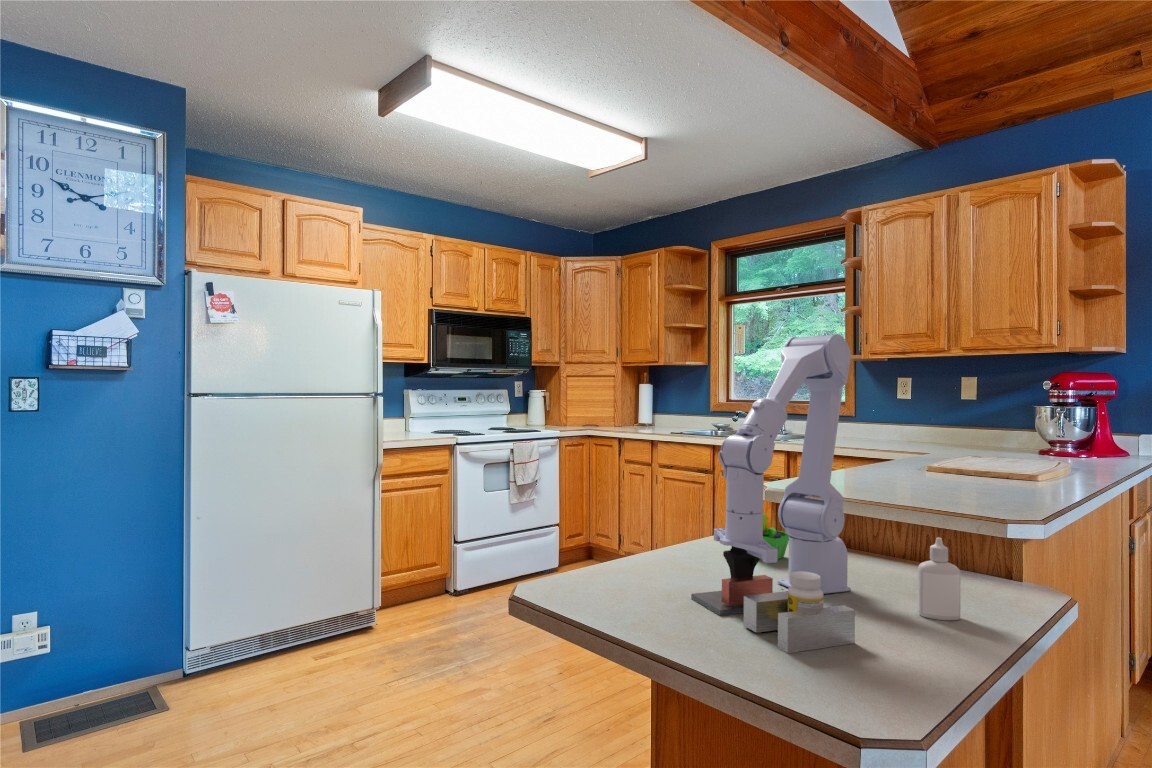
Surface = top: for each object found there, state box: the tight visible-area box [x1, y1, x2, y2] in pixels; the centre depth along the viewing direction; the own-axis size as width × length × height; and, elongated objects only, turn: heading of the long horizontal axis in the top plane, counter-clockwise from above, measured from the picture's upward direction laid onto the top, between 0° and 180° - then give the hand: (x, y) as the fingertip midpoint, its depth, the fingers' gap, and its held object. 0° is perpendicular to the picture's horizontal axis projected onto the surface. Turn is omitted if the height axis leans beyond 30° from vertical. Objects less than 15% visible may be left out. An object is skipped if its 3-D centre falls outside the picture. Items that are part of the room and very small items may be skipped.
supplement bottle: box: [787, 571, 824, 612], centre depth 90 cm, size 5×5×8 cm
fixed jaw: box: [777, 604, 856, 654], centre depth 86 cm, size 11×2×4 cm, turn 110°
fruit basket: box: [762, 511, 789, 561], centre depth 135 cm, size 11×9×11 cm
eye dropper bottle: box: [917, 536, 961, 621], centre depth 99 cm, size 4×6×12 cm
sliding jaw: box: [721, 574, 788, 634], centre depth 97 cm, size 11×11×4 cm
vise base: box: [690, 590, 744, 617], centre depth 103 cm, size 12×8×1 cm
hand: (742, 596), depth 102 cm, fingers closed, pressing on sliding jaw
